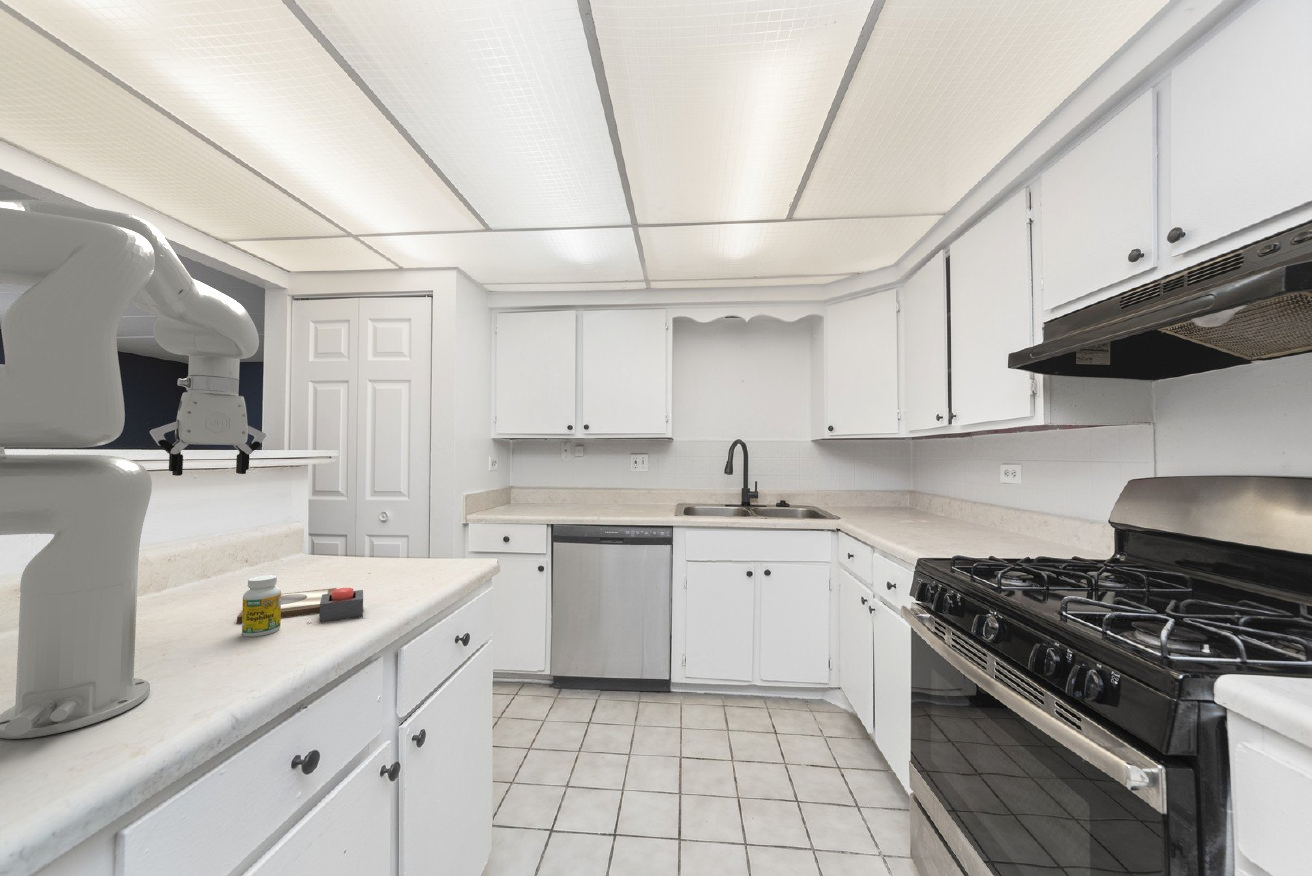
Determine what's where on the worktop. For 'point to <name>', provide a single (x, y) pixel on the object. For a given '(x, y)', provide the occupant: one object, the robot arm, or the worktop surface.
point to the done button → (342, 594)
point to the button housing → (341, 607)
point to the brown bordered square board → (299, 603)
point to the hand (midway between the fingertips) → (210, 474)
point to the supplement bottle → (261, 607)
